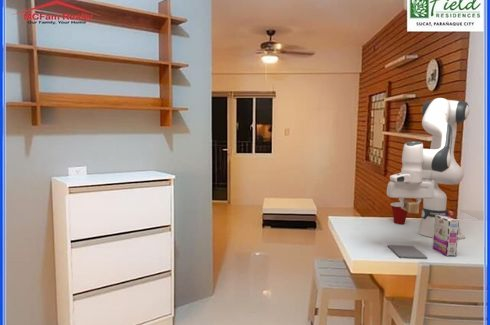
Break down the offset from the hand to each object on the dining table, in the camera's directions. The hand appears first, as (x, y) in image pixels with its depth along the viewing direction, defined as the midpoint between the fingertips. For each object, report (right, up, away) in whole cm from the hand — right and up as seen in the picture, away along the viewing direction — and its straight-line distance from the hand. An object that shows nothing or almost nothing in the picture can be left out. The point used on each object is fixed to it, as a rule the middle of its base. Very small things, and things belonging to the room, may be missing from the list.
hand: (409, 207), depth 172 cm
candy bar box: (+18, -21, +3) cm, 28 cm away
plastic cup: (+18, -16, +55) cm, 60 cm away
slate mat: (0, -21, +2) cm, 21 cm away
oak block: (0, 0, -6) cm, 6 cm away
